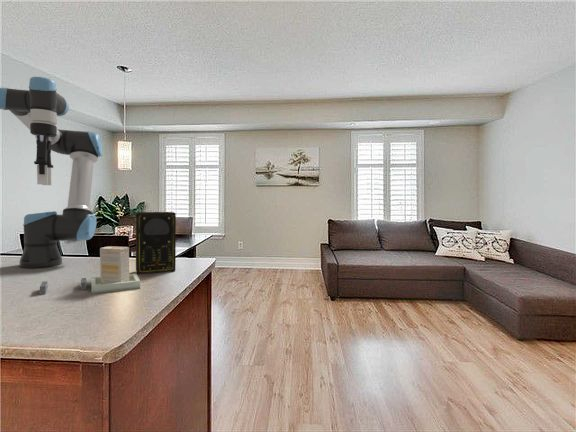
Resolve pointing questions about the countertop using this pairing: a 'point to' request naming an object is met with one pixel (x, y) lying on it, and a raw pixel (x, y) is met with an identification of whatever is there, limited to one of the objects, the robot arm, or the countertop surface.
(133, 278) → the tray
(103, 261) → the supplement box
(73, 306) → the countertop surface
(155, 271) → the voltmeter
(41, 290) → the grey small blocks
